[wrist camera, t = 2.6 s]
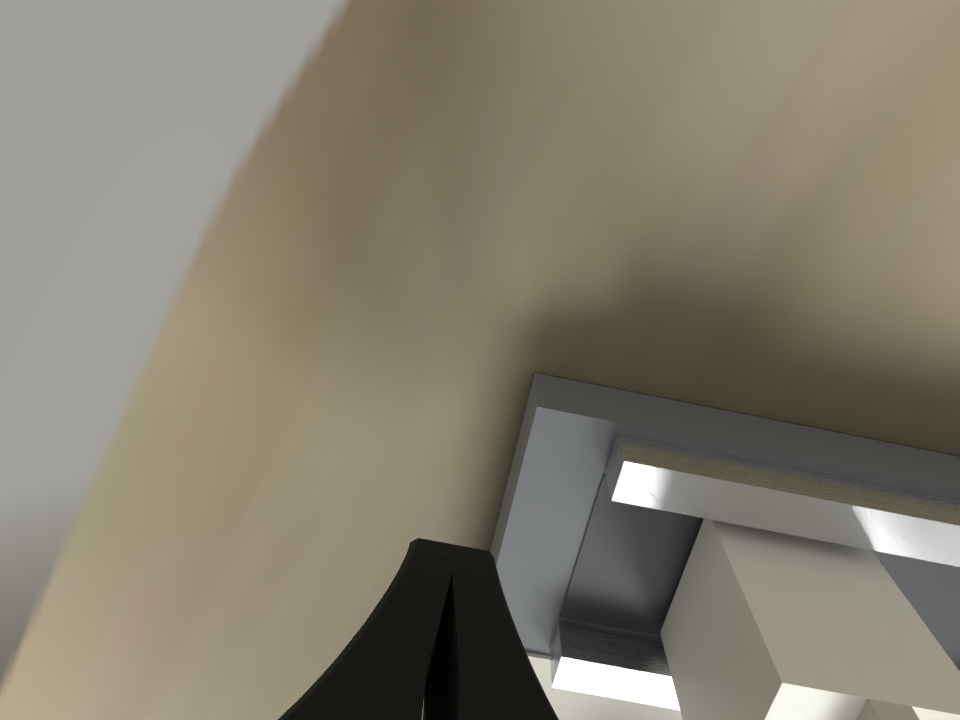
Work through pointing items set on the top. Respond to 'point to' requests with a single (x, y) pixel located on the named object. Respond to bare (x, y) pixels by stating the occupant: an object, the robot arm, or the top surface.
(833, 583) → the tab
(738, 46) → the top surface
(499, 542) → the switch panel
